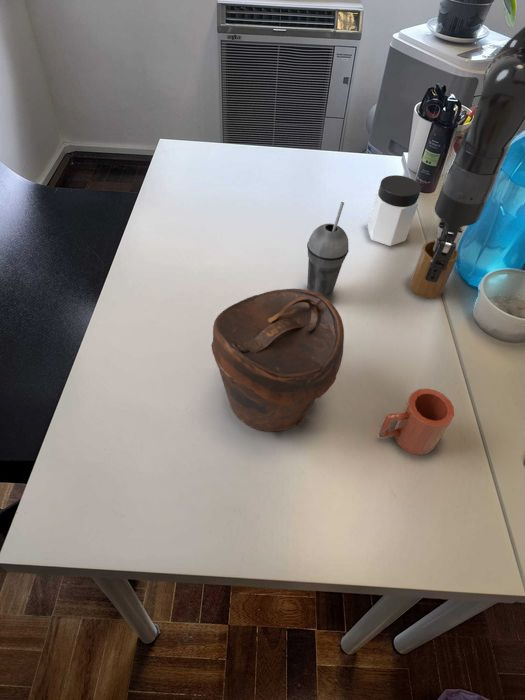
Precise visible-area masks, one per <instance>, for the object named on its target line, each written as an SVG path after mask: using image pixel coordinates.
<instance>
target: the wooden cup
mask: <svg viewBox="0 0 525 700" xmlns="http://www.w3.org/2000/svg"><path fill="white" fill-rule="evenodd" d="M435 241H436V240H429V241H426V242H425V243H424V244H423V246H422V248H421V251H420V254H419V257H418V258H417V262H416V265H415V267H414V270H413V273H412V275H411V278H410V281H409V290H411V292H412V293H413V294H415V295H416V296H418V297H420V298H423V299H429V300H431V299H432V300H433V299H437V298H438V297H440V296H441V295H442V293H443V291H444V290H445V288H446V285H447V283H448V281H449V278H450V277H451V274H452V272H453V269H454V267H455V265H456V263H457V261H458V259H459V251H458V250H457V247H456V248H455V249H454V252H453V254H452V256H451V258H450V260H449V262H448V264H447V268H446V269H445V271H442V272H441V274H440V276H439V278H438V281H437V282H431V281H427V280H426V279H425V278H426V274H427V272H428V269H429V267H430V264H431V260H432V258H433V255H434V251H433V246H434V244H435ZM438 247H439V244H438Z"/></svg>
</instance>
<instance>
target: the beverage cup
mask: <svg viewBox="0 0 525 700" xmlns="http://www.w3.org/2000/svg"><path fill="white" fill-rule="evenodd" d="M344 205H345V202H344V201H340V205H339V207H338V211H337V214H336V217H335V221H334V223H324V224H320V225H319V226H317V228H315V229H314V230H313V232H312V233H311V234H310V236H309V238H308V241H307V244H306V248H307V257H308V261H307V262H308V263H307V264H308V265H307V281H306V282H307V283H306V285H307V286H306V290H309V291H313V292H315V293H318V294H320V295H322V296H323V297H325V298H326V299H328V300H329V301H331V297H332V295H333V292H334V289H335V286H336V283H337V281H338V278H339V275H340V272H341V268H342V266H343V263H344V261H345V260H346V257H347V255H348V254H349V237H348V235H347V233H346V231H345V230H344V229H343V228H342V227H341V226H339V225H338V224H339V221H340V218H341V215H342V213H343V208H344Z"/></svg>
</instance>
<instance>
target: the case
mask: <svg viewBox="0 0 525 700" xmlns="http://www.w3.org/2000/svg"><path fill="white" fill-rule="evenodd" d="M343 323H344V322H343V320H342V317H341V315H340V313H339V311H338V310H337V308H336V306H335V305H334V304H333V303H332V302H331V300H328V299H326V298H325V297H323V296H322V295H320V294H318V293H315V292H313V291H309V290H307V289H301V288H284V289H274V290H270V291H266V292H262V293H259V294H255V295H252V296H249V297H246V298H244V299H242V300H240V301H238V302H236V303H233V304H232V305H230V306H228V307H226V308H225V309H224V310H223V311H221V313H219V314H218V315H217V316H216V318H215V319H214V322H213V325H212V342H211V345H210V346H211V351H212V354H213V357H214V361H215V363H216V366H217V368H218V370H219V373H220V377H221V381H222V383H223V388H224V391H225V393H226V396H227V400H228V402H229V403H228V404H229V406H230V408H231V410H232V412H233V414H234V415H235V417H236V418H238V419H239V420H240V422H242V423H244V424H245V425H246V426H248V427H250V428H252V429H255V430H259V431H264V432H280V431H281V432H282V431H285V430H288V429H290V428H292V427H295V426H298V425H300V424H302V423H303V422H304V421H305V419H306V417H307V414H308V413H309V411H310V409H311V407H312V406H313V404H314V403H315V401H316V400H317V399H320V398H322V396H324V395H325V394H326V393H327V392H328V391H329V390H330V389H331V388H332V386H333V385H334V384H335V382H336V379H337V375H338V373H339V370H340V368H341V365H342V360H343V354H344V343H345V329H344V324H343Z"/></svg>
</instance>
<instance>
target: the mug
mask: <svg viewBox="0 0 525 700" xmlns="http://www.w3.org/2000/svg"><path fill="white" fill-rule="evenodd" d="M454 418H455V407H454V405H453V403H452V401H451V400H450V399H449V398H448V397H447V396H446V395H445V394H444V393H442V392H440V391H438V390H436V389H431V388H419V389H417V390H414V391H413V392H412V393H411V394H410V396H409V398H408V399H407V402H406V403H405V406H404V408H403V410H402V411H401V412H395V413H388V414H386V415H385V417H384V420H383V421H382V424H381V426H380V428H379V431H378V433H377V434H378V437H379V438H388V437H389V438H390V437H394V439H395V442H396V443H397V445H398V446H399V447H400V448H401V449H402V450H403V451H406V452H407V453H409V454H412V455H416V456H417V455H419V456H422V455H427V454H429V453H431V451H433V450H434V449H435V448H436V446H437V444H438V442H439V441H440V440H441V438H442V437H443V435H444V434H445V432H446V430H447V429H448V427H449V426H450V425H451V423H452V421H453V419H454ZM395 421H396V424H395V425H394V428H391V429H390V426H391V425H392V422H395Z"/></svg>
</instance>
